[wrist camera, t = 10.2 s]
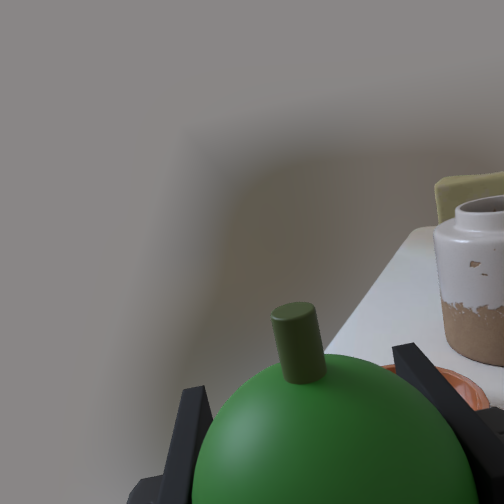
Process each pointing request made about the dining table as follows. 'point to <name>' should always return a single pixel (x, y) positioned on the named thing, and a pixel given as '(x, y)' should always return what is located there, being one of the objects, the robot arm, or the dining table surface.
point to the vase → (473, 279)
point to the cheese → (465, 191)
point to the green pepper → (328, 433)
